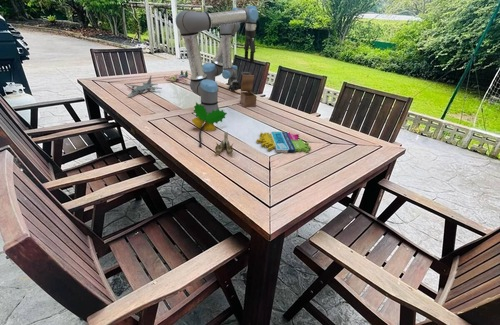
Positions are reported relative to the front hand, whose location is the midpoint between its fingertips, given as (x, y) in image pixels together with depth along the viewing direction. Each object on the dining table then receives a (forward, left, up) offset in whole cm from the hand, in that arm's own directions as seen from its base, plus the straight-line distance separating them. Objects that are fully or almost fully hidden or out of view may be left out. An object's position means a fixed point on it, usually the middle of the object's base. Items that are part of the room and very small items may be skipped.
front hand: (248, 61), depth 202 cm
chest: (-4, 0, -33) cm, 34 cm away
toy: (+88, +51, -33) cm, 107 cm away
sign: (-79, 0, -33) cm, 86 cm away
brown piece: (0, 0, -17) cm, 17 cm away
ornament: (-52, +38, -33) cm, 73 cm away
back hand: (+13, +1, -27) cm, 30 cm away
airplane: (+37, +83, -33) cm, 97 cm away
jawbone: (-85, +34, -33) cm, 97 cm away
